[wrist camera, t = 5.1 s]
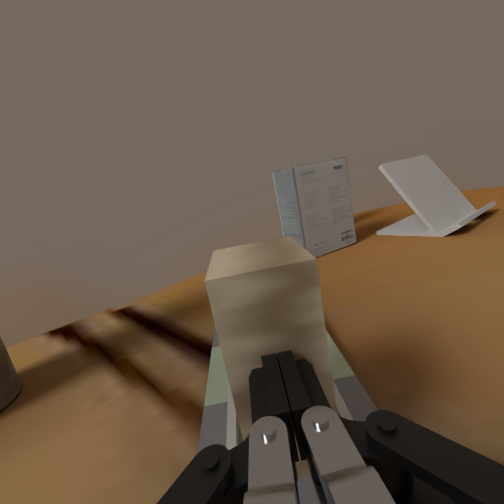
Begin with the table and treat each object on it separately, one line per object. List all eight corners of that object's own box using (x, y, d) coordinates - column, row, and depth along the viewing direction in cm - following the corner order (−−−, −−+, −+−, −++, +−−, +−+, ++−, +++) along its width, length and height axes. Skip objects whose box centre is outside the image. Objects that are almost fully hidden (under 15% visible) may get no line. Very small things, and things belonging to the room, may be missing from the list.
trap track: (151, 992, 6) (112, 946, 6) (219, 329, 36) (214, 308, 36) (640, 870, 7) (660, 811, 6) (307, 311, 37) (303, 290, 36)
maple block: (254, 487, 15) (204, 281, 12) (248, 402, 20) (214, 250, 18) (344, 468, 15) (316, 258, 12) (313, 389, 21) (289, 235, 18)
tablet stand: (375, 235, 69) (369, 166, 65) (418, 214, 83) (416, 156, 79) (461, 238, 54) (461, 149, 50) (496, 212, 68) (498, 141, 64)
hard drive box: (333, 240, 71) (324, 161, 66) (357, 243, 64) (349, 155, 59) (285, 257, 64) (271, 170, 60) (306, 262, 58) (292, 165, 53)
